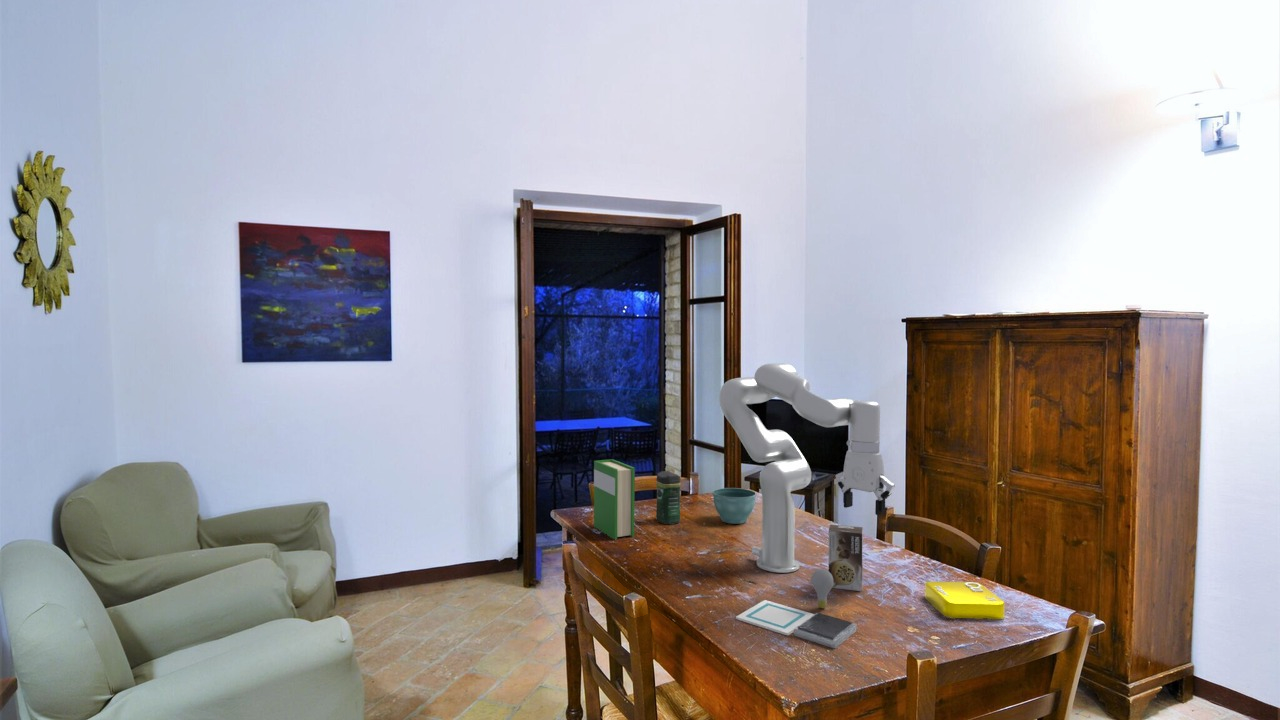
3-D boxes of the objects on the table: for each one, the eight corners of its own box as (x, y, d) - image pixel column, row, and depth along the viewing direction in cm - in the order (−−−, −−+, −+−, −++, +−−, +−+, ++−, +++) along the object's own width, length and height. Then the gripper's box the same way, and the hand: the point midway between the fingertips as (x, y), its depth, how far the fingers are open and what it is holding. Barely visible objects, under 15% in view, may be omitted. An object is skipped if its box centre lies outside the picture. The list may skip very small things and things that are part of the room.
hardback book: (634, 537, 232) (634, 467, 231) (614, 539, 228) (615, 469, 228) (612, 524, 247) (612, 459, 247) (593, 526, 244) (594, 460, 243)
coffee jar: (683, 523, 249) (683, 473, 248) (664, 526, 246) (664, 475, 245) (672, 517, 258) (672, 468, 257) (653, 519, 254) (653, 470, 254)
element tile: (922, 596, 181) (922, 579, 181) (978, 597, 181) (979, 580, 180) (945, 620, 166) (946, 600, 166) (1007, 621, 166) (1008, 601, 165)
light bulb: (807, 604, 174) (808, 566, 174) (828, 603, 174) (829, 565, 174) (815, 613, 169) (815, 573, 168) (836, 612, 169) (836, 573, 169)
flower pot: (713, 514, 262) (713, 486, 262) (755, 516, 260) (755, 488, 259) (711, 526, 246) (711, 496, 246) (756, 528, 244) (756, 498, 243)
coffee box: (862, 583, 189) (863, 526, 188) (862, 592, 183) (863, 533, 182) (828, 579, 192) (829, 523, 191) (827, 587, 186) (828, 529, 185)
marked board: (735, 619, 165) (736, 616, 165) (764, 602, 175) (764, 599, 175) (787, 635, 156) (787, 632, 156) (814, 616, 166) (815, 614, 166)
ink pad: (793, 635, 156) (793, 627, 156) (816, 619, 165) (817, 611, 165) (834, 648, 149) (835, 639, 149) (856, 630, 158) (856, 622, 158)
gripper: (828, 444, 185) (828, 506, 186) (886, 452, 172) (885, 519, 172) (845, 441, 190) (844, 502, 190) (902, 450, 176) (901, 515, 177)
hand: (863, 510), depth 181 cm, fingers open, 9 cm apart
